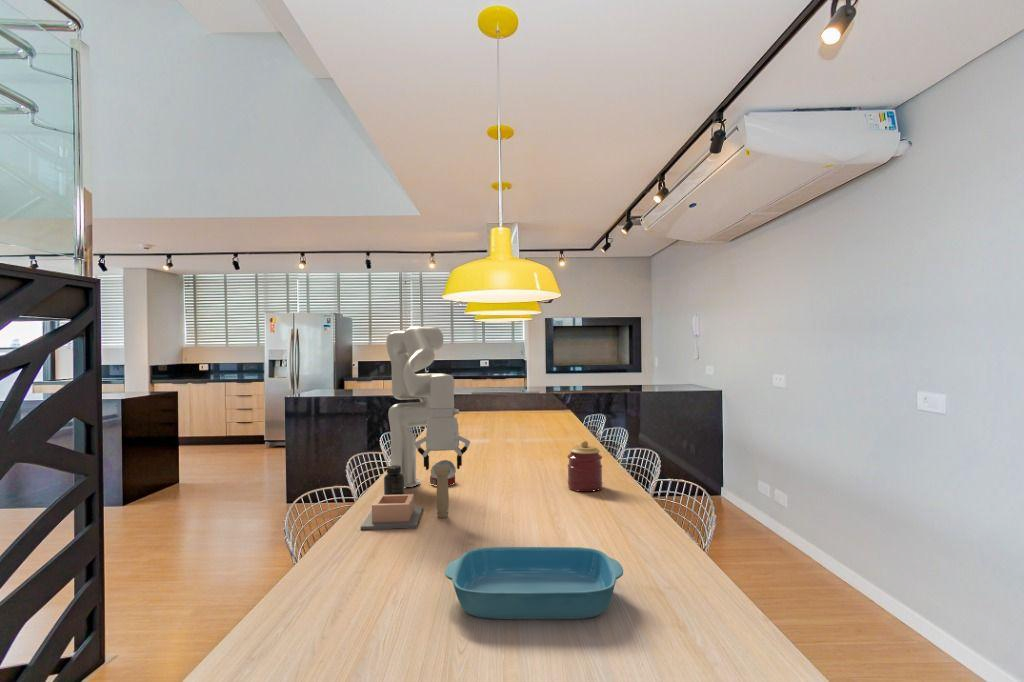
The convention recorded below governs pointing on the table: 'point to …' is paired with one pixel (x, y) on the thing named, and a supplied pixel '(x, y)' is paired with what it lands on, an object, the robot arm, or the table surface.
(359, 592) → the table surface
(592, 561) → the casserole dish
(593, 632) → the table surface
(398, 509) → the socket
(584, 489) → the canister
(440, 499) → the handle
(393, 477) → the supplement bottle
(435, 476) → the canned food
